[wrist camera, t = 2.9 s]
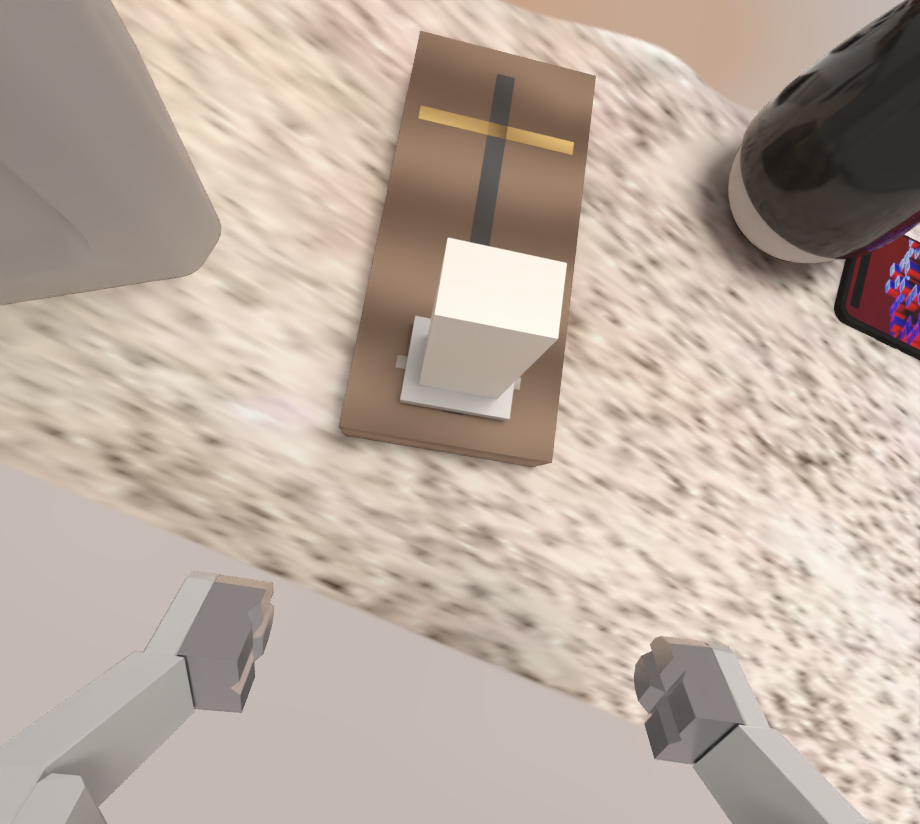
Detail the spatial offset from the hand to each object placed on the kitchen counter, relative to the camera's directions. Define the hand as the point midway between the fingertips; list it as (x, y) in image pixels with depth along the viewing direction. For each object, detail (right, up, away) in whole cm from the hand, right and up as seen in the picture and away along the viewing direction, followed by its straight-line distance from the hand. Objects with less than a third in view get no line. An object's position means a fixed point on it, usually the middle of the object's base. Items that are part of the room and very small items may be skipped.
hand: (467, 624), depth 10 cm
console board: (+1, +13, +17) cm, 22 cm away
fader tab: (0, +6, +13) cm, 14 cm away
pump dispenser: (+20, +17, +21) cm, 34 cm away
